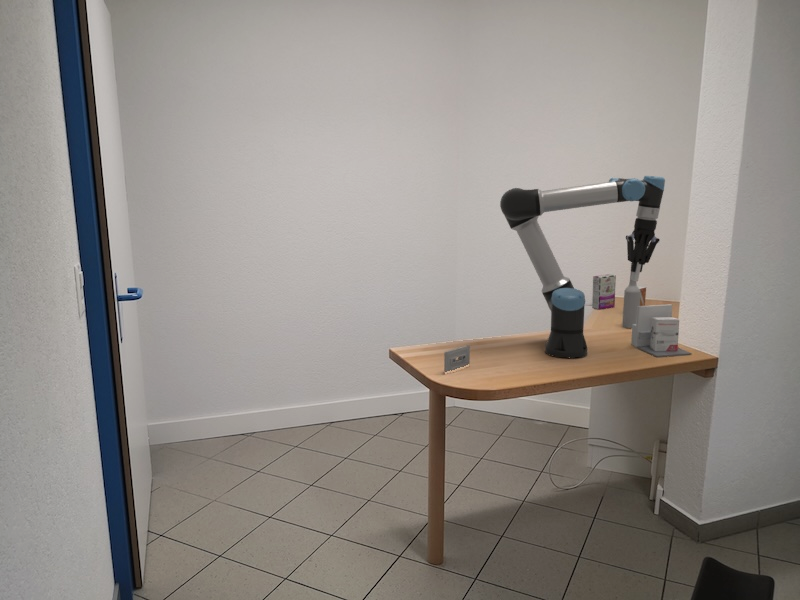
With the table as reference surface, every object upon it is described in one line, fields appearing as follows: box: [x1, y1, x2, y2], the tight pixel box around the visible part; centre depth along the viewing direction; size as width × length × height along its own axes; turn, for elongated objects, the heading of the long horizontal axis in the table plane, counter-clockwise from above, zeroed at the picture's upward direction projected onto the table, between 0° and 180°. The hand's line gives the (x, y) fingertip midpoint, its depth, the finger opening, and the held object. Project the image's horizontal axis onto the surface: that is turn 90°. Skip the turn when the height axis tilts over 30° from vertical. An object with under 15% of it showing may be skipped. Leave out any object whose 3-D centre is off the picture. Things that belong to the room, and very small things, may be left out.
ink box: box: [650, 317, 680, 351], centre depth 219 cm, size 9×5×12 cm, turn 88°
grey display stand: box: [630, 303, 692, 358], centre depth 220 cm, size 14×18×16 cm
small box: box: [637, 285, 647, 306], centre depth 279 cm, size 8×6×13 cm
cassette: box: [443, 344, 471, 372], centre depth 201 cm, size 12×2×8 cm, turn 133°
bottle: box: [621, 262, 640, 330], centre depth 254 cm, size 7×7×28 cm
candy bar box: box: [591, 273, 617, 311], centre depth 294 cm, size 11×5×16 cm, turn 119°
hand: (634, 280), depth 224 cm, fingers closed
